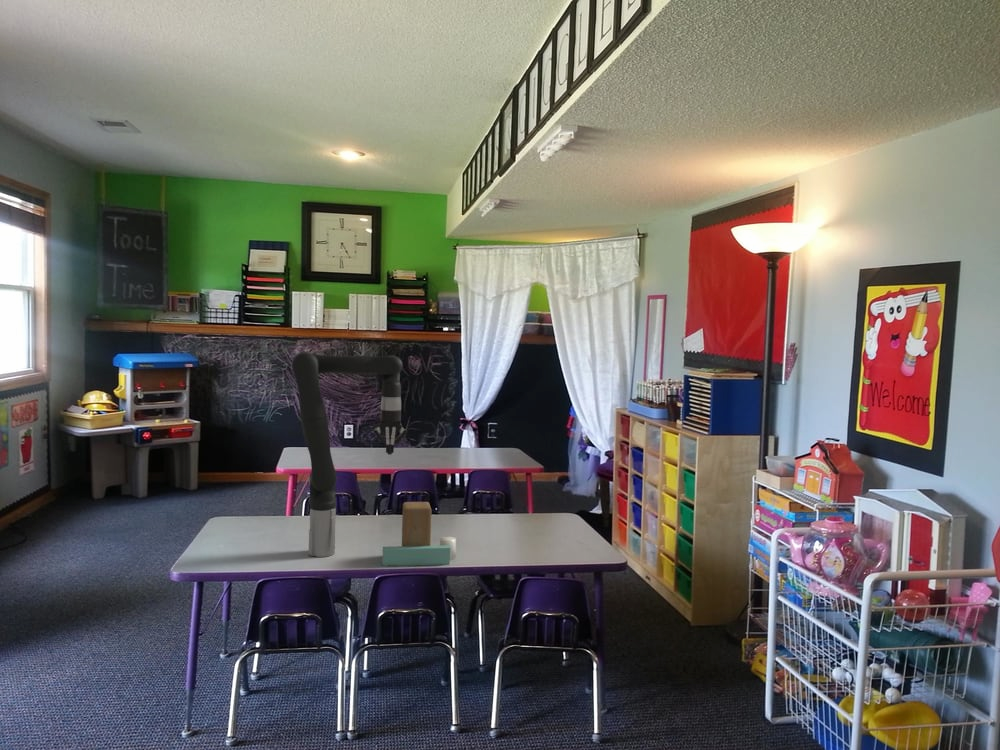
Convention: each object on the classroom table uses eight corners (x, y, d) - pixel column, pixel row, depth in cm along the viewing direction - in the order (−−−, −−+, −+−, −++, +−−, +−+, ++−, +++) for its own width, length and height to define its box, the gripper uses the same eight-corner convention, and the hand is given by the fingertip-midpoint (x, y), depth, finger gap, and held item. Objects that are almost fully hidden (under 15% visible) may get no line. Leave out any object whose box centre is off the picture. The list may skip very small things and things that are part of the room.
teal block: (382, 565, 248) (382, 549, 247) (382, 563, 250) (382, 546, 250) (449, 564, 252) (450, 547, 252) (448, 561, 255) (449, 545, 254)
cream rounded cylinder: (440, 560, 256) (440, 541, 255) (438, 555, 262) (439, 536, 261) (456, 559, 257) (457, 541, 257) (454, 554, 263) (455, 536, 262)
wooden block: (402, 562, 252) (404, 508, 251) (401, 553, 262) (402, 501, 260) (430, 561, 254) (431, 507, 252) (427, 553, 263) (429, 501, 262)
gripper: (373, 409, 257) (371, 455, 258) (409, 410, 259) (407, 456, 260) (373, 407, 264) (372, 452, 265) (408, 407, 267) (406, 452, 268)
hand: (389, 454), depth 263 cm, fingers closed
